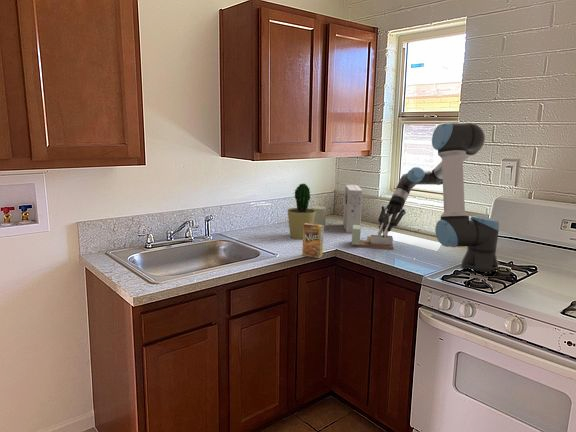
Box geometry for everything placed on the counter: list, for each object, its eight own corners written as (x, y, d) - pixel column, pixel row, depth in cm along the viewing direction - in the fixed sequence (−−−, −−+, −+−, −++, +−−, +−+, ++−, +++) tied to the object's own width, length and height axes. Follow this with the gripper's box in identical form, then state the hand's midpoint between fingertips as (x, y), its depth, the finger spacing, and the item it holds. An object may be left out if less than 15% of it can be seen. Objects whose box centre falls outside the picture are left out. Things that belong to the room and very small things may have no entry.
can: (328, 225, 277) (329, 206, 275) (321, 228, 270) (322, 208, 267) (314, 223, 282) (315, 204, 280) (307, 226, 275) (308, 206, 272)
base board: (393, 249, 229) (393, 247, 229) (351, 246, 232) (351, 244, 232) (392, 244, 239) (392, 242, 239) (351, 241, 242) (352, 239, 242)
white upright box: (359, 233, 261) (362, 190, 255) (346, 233, 261) (349, 189, 256) (355, 225, 282) (357, 185, 277) (342, 224, 282) (345, 184, 277)
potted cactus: (298, 231, 260) (300, 179, 253) (320, 236, 250) (322, 182, 244) (280, 236, 248) (282, 182, 242) (303, 241, 238) (305, 185, 232)
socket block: (359, 244, 231) (360, 229, 230) (351, 244, 232) (352, 229, 230) (359, 239, 241) (360, 225, 240) (352, 239, 242) (352, 224, 240)
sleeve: (392, 245, 232) (392, 238, 231) (370, 244, 233) (370, 236, 233) (391, 243, 236) (392, 235, 235) (370, 241, 238) (370, 234, 237)
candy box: (301, 255, 213) (303, 224, 210) (305, 253, 217) (306, 222, 214) (319, 258, 210) (321, 226, 207) (322, 256, 214) (324, 224, 211)
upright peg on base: (388, 243, 233) (390, 214, 230) (366, 242, 234) (368, 213, 231) (388, 242, 235) (390, 213, 232) (366, 240, 237) (368, 212, 234)
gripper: (414, 205, 238) (397, 242, 228) (387, 201, 247) (370, 236, 238) (410, 196, 232) (393, 233, 223) (383, 193, 242) (365, 228, 233)
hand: (381, 235), depth 230 cm, fingers closed on upright peg on base, 2 cm apart
